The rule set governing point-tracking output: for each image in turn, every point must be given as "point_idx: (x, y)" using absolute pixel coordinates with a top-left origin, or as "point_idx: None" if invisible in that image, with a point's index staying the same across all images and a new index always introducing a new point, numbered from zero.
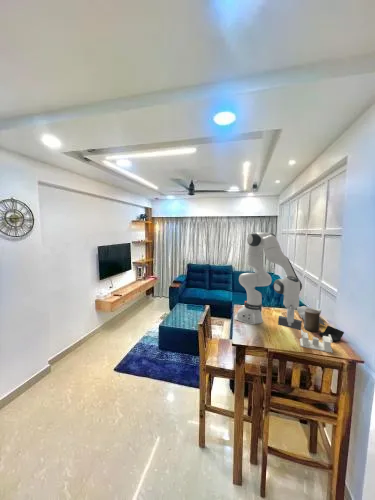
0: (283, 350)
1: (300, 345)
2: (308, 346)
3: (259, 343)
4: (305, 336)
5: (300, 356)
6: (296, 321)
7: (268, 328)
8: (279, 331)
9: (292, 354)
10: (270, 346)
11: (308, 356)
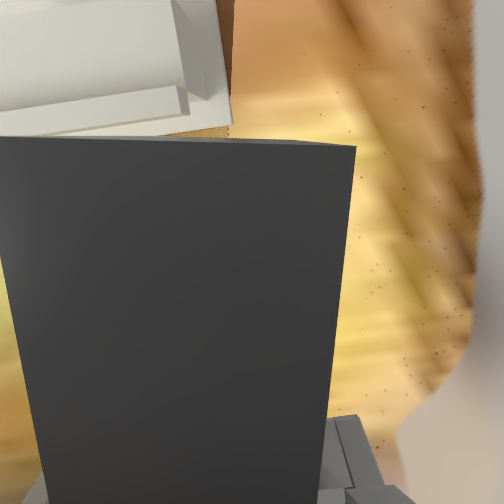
0: (414, 276)
1: (216, 126)
2: (205, 23)
3: (379, 463)
4: (123, 52)
5: (471, 103)
6: (325, 407)
7: (20, 454)
8: (5, 364)
9: (461, 187)
10: (390, 385)
11: (431, 11)
